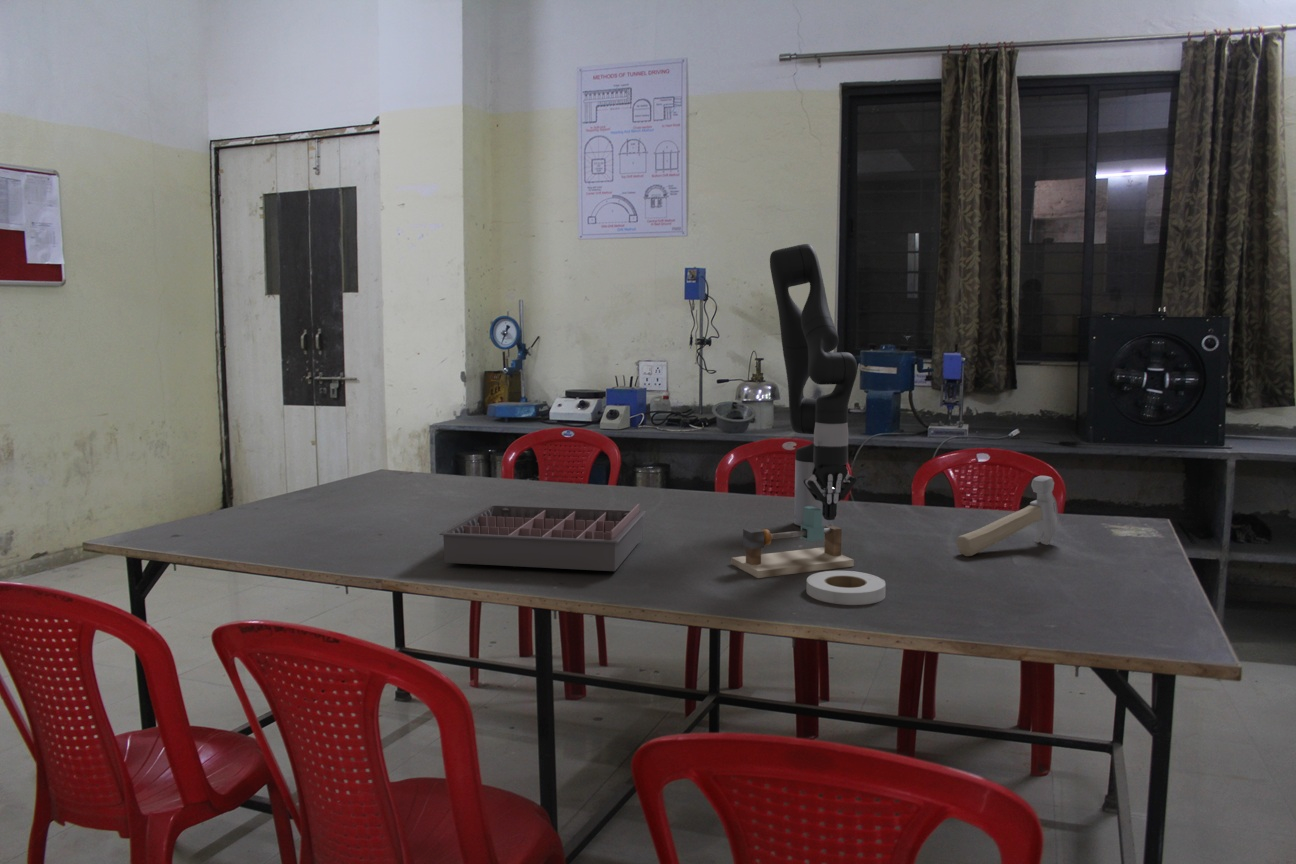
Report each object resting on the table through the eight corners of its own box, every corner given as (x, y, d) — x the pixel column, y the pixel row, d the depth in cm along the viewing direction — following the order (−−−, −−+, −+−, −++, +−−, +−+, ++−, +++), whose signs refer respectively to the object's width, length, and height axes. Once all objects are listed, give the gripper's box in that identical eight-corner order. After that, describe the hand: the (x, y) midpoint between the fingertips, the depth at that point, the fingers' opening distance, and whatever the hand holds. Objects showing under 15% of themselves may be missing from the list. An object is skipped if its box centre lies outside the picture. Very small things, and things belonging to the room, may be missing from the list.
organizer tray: (490, 535, 236) (489, 497, 235) (646, 542, 228) (646, 502, 227) (439, 569, 205) (438, 525, 203) (617, 578, 197) (617, 532, 196)
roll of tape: (835, 610, 176) (835, 595, 176) (791, 588, 190) (792, 575, 190) (902, 600, 182) (902, 586, 182) (854, 580, 196) (855, 566, 196)
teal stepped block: (814, 536, 211) (815, 505, 210) (825, 540, 207) (825, 509, 206) (799, 537, 209) (799, 507, 208) (809, 542, 205) (810, 511, 204)
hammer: (967, 517, 210) (1056, 477, 223) (951, 513, 215) (1040, 474, 228) (976, 581, 214) (1063, 537, 227) (960, 576, 218) (1046, 533, 231)
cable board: (823, 553, 217) (824, 516, 216) (853, 566, 206) (854, 527, 205) (731, 564, 208) (731, 525, 207) (757, 578, 197) (758, 537, 196)
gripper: (846, 439, 213) (844, 513, 215) (796, 442, 208) (794, 518, 210) (866, 443, 206) (863, 520, 208) (814, 446, 201) (813, 525, 203)
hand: (829, 519), depth 209 cm, fingers closed
